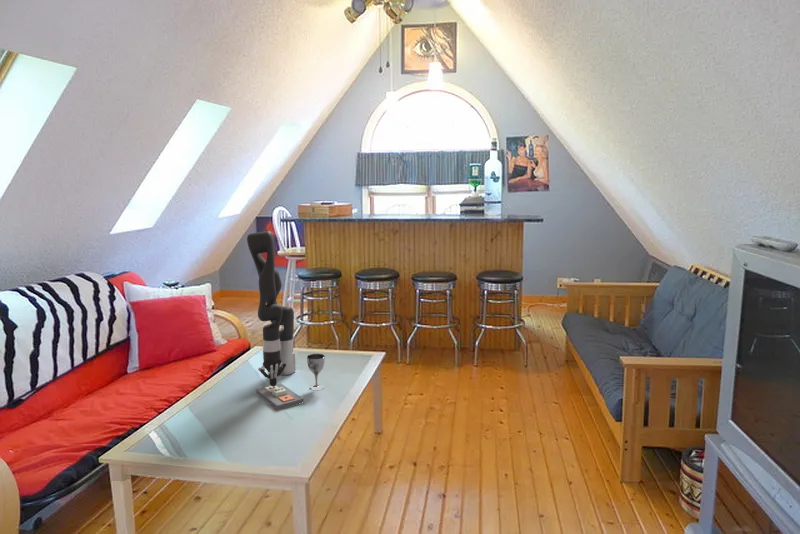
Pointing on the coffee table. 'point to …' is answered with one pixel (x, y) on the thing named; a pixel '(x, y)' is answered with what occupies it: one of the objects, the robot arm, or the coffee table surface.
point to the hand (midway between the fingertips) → (273, 385)
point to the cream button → (270, 388)
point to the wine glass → (316, 364)
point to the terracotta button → (286, 398)
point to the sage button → (279, 392)
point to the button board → (275, 400)
